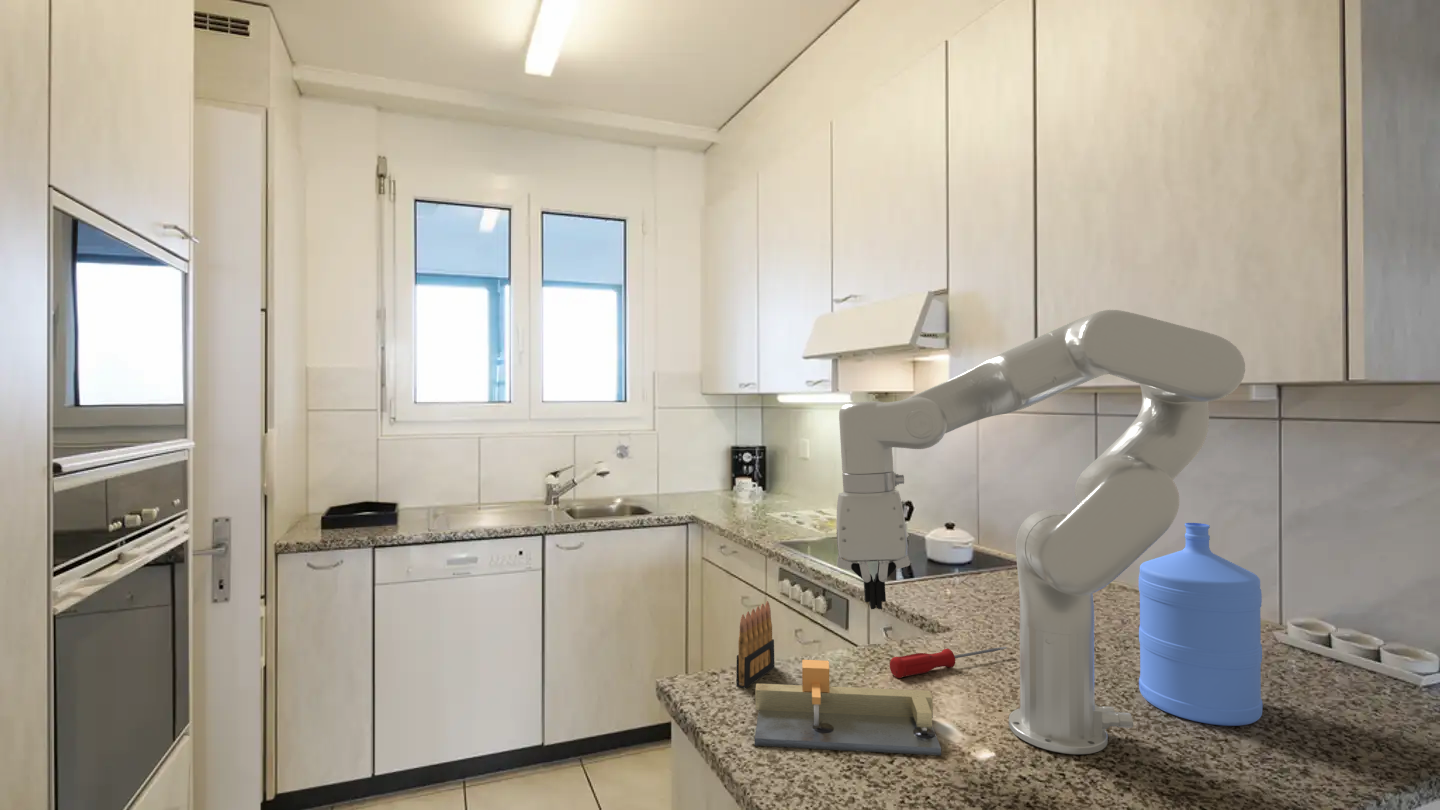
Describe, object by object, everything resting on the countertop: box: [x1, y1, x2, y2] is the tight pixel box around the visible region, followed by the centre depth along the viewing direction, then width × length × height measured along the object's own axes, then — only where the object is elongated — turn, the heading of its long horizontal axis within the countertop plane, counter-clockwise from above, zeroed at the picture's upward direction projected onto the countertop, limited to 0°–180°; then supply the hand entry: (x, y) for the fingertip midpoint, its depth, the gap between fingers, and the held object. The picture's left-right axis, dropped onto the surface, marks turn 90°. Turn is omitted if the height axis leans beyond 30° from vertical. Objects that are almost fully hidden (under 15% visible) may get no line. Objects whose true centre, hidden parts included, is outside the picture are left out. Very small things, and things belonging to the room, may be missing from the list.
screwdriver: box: [889, 646, 1007, 679], centre depth 122 cm, size 4×25×4 cm, turn 112°
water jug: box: [1138, 522, 1264, 727], centre depth 106 cm, size 16×16×28 cm
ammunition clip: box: [735, 600, 775, 689], centre depth 119 cm, size 11×2×12 cm, turn 148°
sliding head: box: [801, 659, 830, 726], centre depth 101 cm, size 4×8×6 cm, turn 173°
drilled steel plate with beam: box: [754, 683, 942, 756], centre depth 100 cm, size 26×14×4 cm, turn 83°
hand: (875, 606), depth 102 cm, fingers closed
